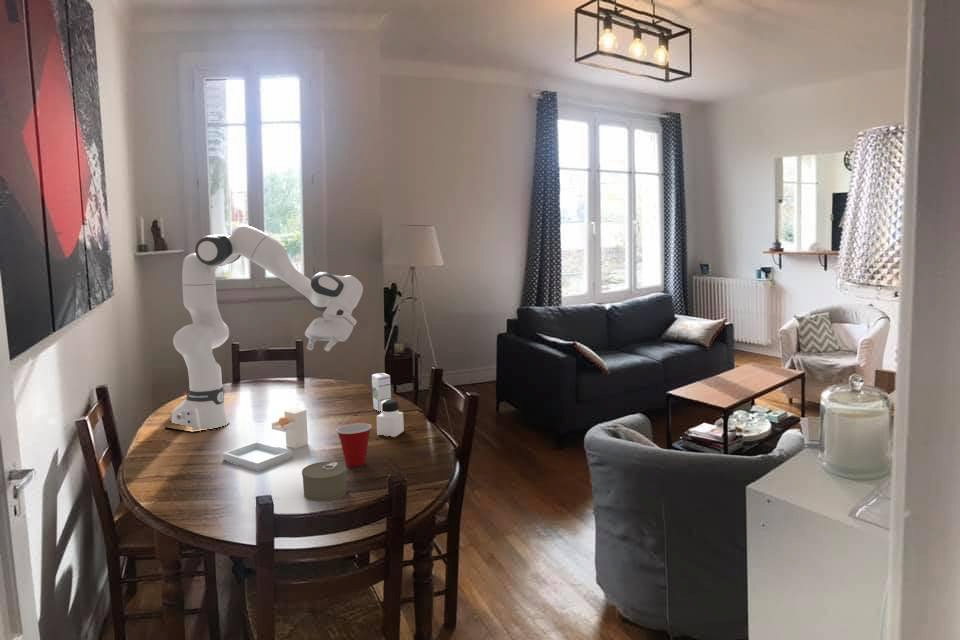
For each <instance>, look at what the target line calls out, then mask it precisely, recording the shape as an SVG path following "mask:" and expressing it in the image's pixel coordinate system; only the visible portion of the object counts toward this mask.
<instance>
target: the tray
mask: <svg viewBox="0 0 960 640" xmlns="http://www.w3.org/2000/svg"><path fill="white" fill-rule="evenodd" d="M292 451H293V450H290V449H287V448H282V447H280V446H276V445H271V444H268V443H266V442H265V443H264V442H261V441H254V442H251V443H247V444H245V445H242V446H240V447H236V448H233V449H231V450H228V451H224V452H222V461H223V460H226V461H229V462H232V463H235V464H234V465H236V464H238V465H237V466H239V465H240V467H242V466H243V468H245V467H246V469H249V470H252V471H255V470H256V471H255V472H261V471H262V469H263V470H265V469H268V468H271V467H273V466H275V465H278V464H280V463H284V462H286V461H288V460H291V459H293V455H292V454H293V452H292ZM226 461H225V462H226ZM229 462H228V463H229ZM232 463H231V464H232ZM270 466H271V467H270Z"/></svg>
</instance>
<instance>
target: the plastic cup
mask: <svg viewBox="0 0 960 640" xmlns="http://www.w3.org/2000/svg"><path fill="white" fill-rule="evenodd" d="M371 429H372V424H370V423H365V422H363V423H361V422H359V423H358V422H356V423H350V424H344V425H341V426H338V427H337V428H336V429H335V431H336V433H337V434H338V437H339V441H340V443H341V444H340V446H341V449H342V453H343V456H344V461H345V465H346V467H349V468H358V467H362V466H364V465H365V464H366V459H367V458H366V457H367V453H368V445H369V437H370V432H371Z"/></svg>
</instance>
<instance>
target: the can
mask: <svg viewBox="0 0 960 640" xmlns="http://www.w3.org/2000/svg"><path fill="white" fill-rule="evenodd" d="M347 467H348V466H347V465H346V464H344V463H342V462H339V461H321V462H314V463H312V464H309V465H306V466H305V467H304V468H302V471H301V475H302V484H303V487H302V488H303V497H304V498H305V499H306V500H308V501H311V502H318V503H319V502H320V503H321V502H329V501H334V500H337V499H340V498H342V497H343V496H344V495H346V494H347V492H348V489H347V470H348V469H347Z"/></svg>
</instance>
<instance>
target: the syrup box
mask: <svg viewBox="0 0 960 640" xmlns="http://www.w3.org/2000/svg"><path fill="white" fill-rule="evenodd" d="M371 388H372V389H371V390H372V407H373V408H372V409H373V410H374V409H375V410H374V411H376V410H377V411H376V412H378V411H379V412H378V413H381V412H380V411H381V402H382V401H384V400H388V399H392V392H391V391H392V389H391V388H392V387H391V375H390V374H387V373H385V372H380V373H379V372H378V373H374V374H371Z"/></svg>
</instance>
